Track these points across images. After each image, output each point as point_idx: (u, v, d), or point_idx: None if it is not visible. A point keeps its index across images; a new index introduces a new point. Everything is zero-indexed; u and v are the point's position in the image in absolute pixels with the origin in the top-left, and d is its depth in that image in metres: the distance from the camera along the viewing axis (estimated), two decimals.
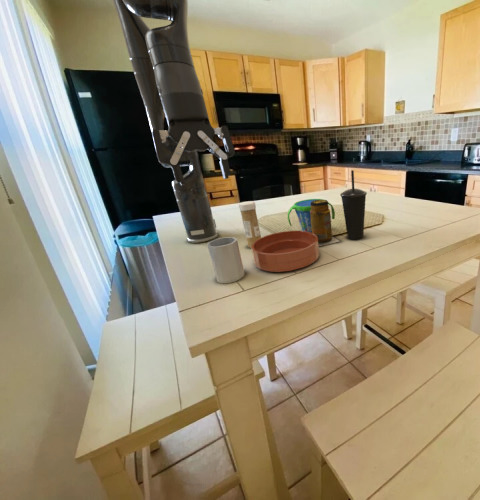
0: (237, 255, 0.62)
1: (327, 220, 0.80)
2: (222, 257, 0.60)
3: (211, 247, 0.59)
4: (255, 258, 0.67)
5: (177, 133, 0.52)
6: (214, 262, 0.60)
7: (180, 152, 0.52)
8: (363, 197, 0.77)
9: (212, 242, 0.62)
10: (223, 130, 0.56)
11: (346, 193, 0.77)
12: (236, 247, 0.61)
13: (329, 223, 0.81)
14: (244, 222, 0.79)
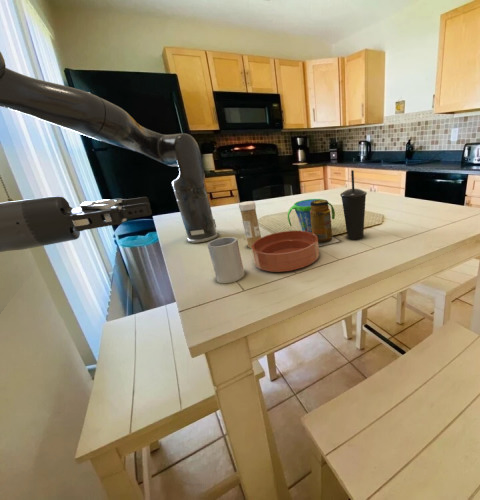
0: (237, 255, 0.62)
1: (327, 220, 0.80)
2: (222, 257, 0.60)
3: (211, 247, 0.59)
4: (255, 258, 0.67)
5: None
6: (214, 262, 0.60)
7: None
8: (363, 197, 0.77)
9: (212, 242, 0.62)
10: None
11: (346, 193, 0.77)
12: (236, 247, 0.61)
13: (329, 223, 0.81)
14: (244, 222, 0.79)
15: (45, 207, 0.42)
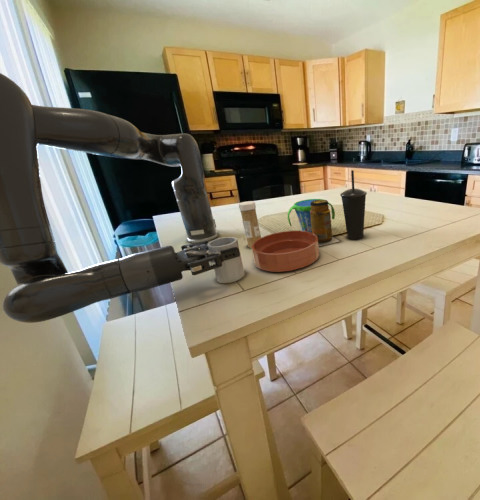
0: None
1: (327, 220, 0.80)
2: None
3: (211, 247, 0.59)
4: (255, 258, 0.67)
5: None
6: None
7: None
8: (363, 197, 0.77)
9: (212, 242, 0.62)
10: None
11: (346, 193, 0.77)
12: None
13: (329, 223, 0.81)
14: (244, 222, 0.79)
15: (165, 257, 0.53)
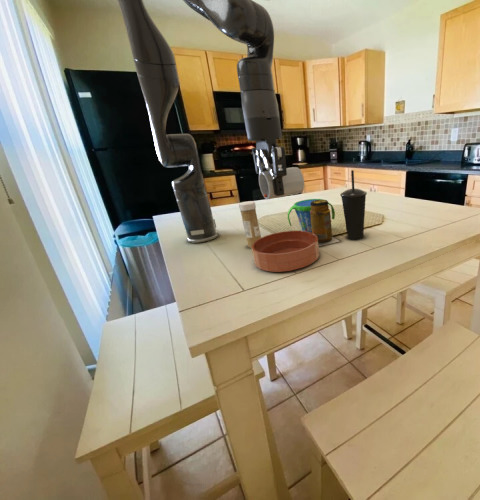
0: None
1: (327, 220, 0.80)
2: None
3: None
4: (255, 258, 0.67)
5: None
6: None
7: None
8: (363, 197, 0.77)
9: None
10: None
11: (346, 193, 0.77)
12: None
13: (329, 223, 0.81)
14: (244, 222, 0.79)
15: None
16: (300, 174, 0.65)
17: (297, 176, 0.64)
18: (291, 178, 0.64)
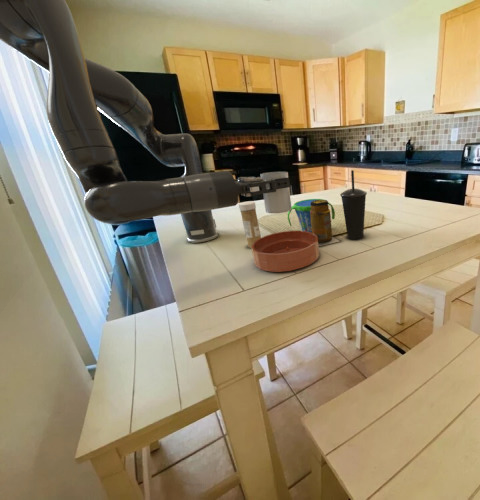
0: None
1: (327, 220, 0.80)
2: None
3: (265, 175, 0.61)
4: (255, 258, 0.67)
5: None
6: None
7: None
8: (363, 197, 0.77)
9: None
10: None
11: (346, 193, 0.77)
12: None
13: (329, 223, 0.81)
14: (244, 222, 0.79)
15: (225, 178, 0.56)
16: None
17: None
18: None
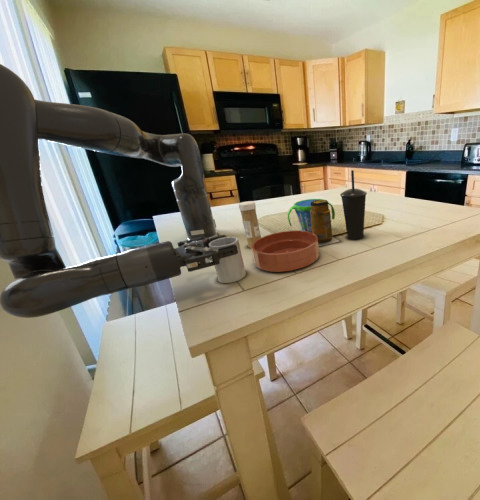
0: (238, 254, 0.62)
1: (327, 220, 0.80)
2: None
3: (212, 247, 0.59)
4: (255, 258, 0.67)
5: None
6: None
7: None
8: (363, 197, 0.77)
9: (213, 242, 0.62)
10: None
11: (346, 193, 0.77)
12: (237, 247, 0.61)
13: (329, 223, 0.81)
14: (244, 222, 0.79)
15: (164, 253, 0.53)
16: None
17: None
18: None
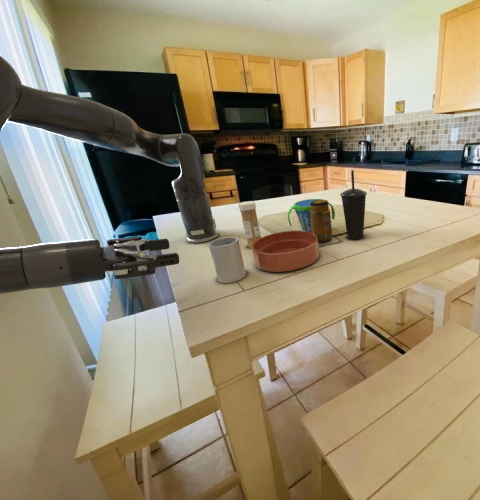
0: (238, 254, 0.62)
1: (327, 220, 0.80)
2: (224, 257, 0.60)
3: (212, 247, 0.59)
4: (255, 258, 0.67)
5: None
6: (215, 262, 0.60)
7: None
8: (363, 197, 0.77)
9: (213, 242, 0.62)
10: None
11: (346, 193, 0.77)
12: (237, 247, 0.61)
13: (329, 223, 0.81)
14: (244, 222, 0.79)
15: (87, 253, 0.46)
16: None
17: None
18: None
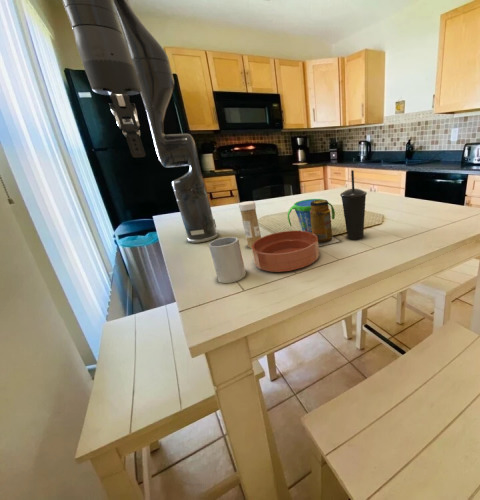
0: (238, 254, 0.62)
1: (327, 220, 0.80)
2: (224, 257, 0.60)
3: (212, 247, 0.59)
4: (255, 258, 0.67)
5: None
6: (215, 262, 0.60)
7: None
8: (363, 197, 0.77)
9: (213, 242, 0.62)
10: None
11: (346, 193, 0.77)
12: (237, 247, 0.61)
13: (329, 223, 0.81)
14: (244, 222, 0.79)
15: (130, 79, 0.49)
16: None
17: None
18: None
